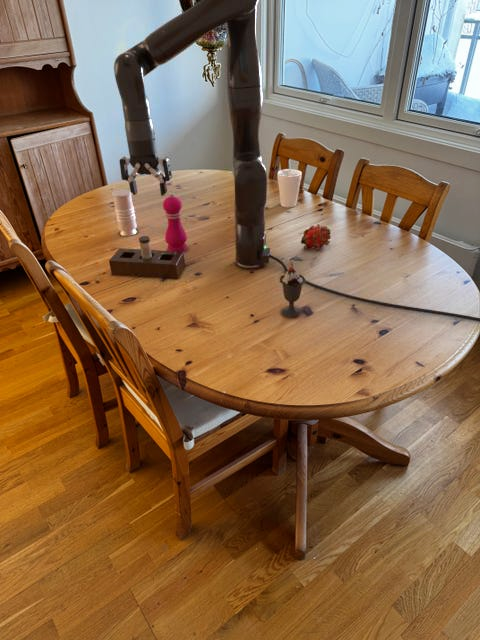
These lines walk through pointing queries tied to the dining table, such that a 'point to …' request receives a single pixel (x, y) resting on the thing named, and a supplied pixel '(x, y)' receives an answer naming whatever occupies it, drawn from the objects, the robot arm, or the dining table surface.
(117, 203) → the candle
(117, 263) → the dark brown hollow block
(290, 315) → the sundae
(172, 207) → the pepper mill
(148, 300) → the dining table surface
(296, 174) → the foam cup
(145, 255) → the peg
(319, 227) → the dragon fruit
